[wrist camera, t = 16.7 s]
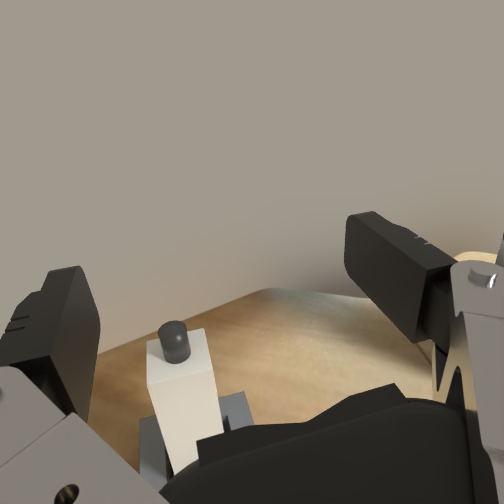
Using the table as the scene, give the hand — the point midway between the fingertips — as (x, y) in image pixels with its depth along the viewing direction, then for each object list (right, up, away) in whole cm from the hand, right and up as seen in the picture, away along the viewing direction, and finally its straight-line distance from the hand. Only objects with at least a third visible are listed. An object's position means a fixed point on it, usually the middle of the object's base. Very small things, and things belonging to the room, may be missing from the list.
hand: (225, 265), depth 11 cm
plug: (-4, -21, +24) cm, 32 cm away
